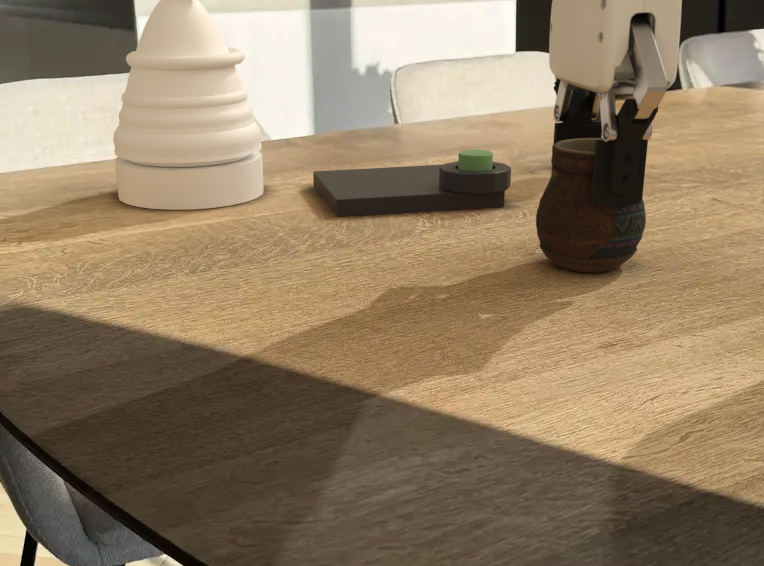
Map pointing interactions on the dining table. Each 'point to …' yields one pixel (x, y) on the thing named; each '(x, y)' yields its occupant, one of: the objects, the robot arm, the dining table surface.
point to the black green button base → (412, 189)
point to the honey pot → (186, 117)
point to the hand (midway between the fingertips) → (594, 190)
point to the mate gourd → (584, 215)
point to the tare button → (475, 160)
